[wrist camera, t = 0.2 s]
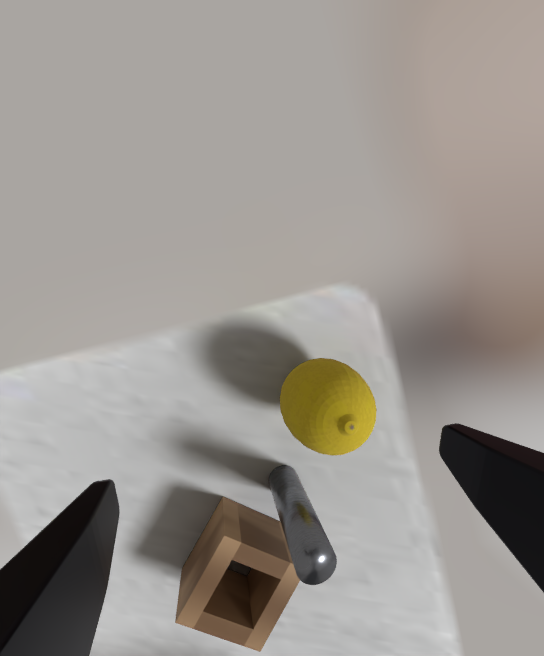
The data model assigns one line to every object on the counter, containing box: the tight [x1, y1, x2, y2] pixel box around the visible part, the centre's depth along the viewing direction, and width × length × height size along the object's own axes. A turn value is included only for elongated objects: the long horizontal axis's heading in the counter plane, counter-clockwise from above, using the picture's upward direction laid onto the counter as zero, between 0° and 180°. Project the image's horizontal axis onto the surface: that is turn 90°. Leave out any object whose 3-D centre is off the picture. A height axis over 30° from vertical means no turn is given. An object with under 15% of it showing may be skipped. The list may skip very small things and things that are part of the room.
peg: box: [269, 465, 337, 585], centre depth 20 cm, size 2×2×8 cm
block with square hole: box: [175, 497, 300, 652], centre depth 22 cm, size 6×6×4 cm
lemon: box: [280, 358, 376, 455], centre depth 20 cm, size 6×6×8 cm
